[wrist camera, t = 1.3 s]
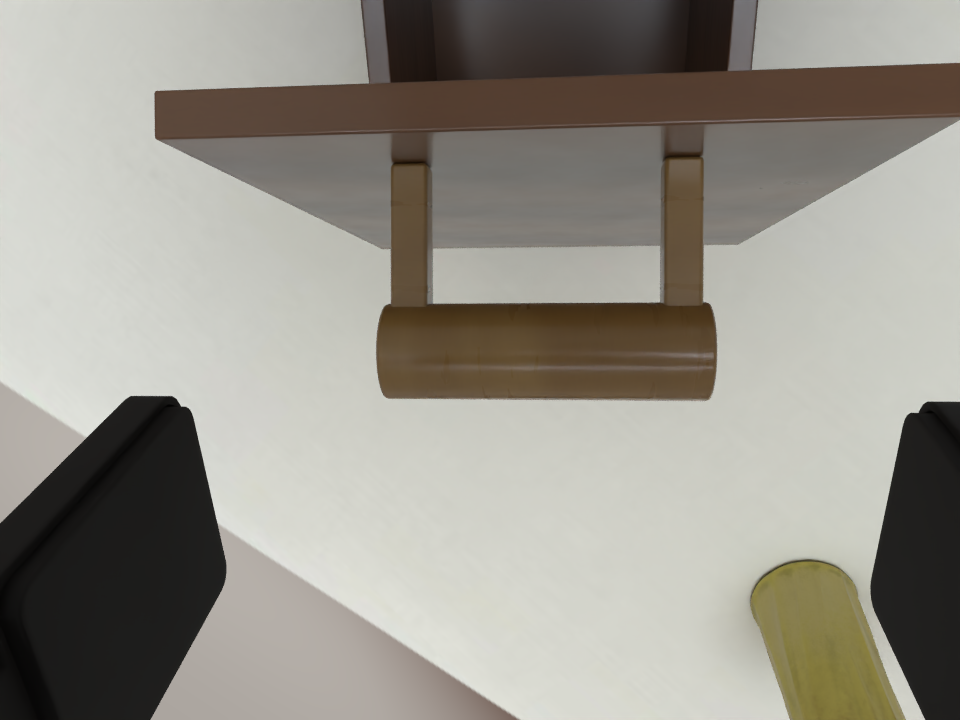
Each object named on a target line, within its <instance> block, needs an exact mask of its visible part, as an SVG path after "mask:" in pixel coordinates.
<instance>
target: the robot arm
mask: <svg viewBox="0 0 960 720" xmlns="http://www.w3.org/2000/svg"><path fill="white" fill-rule="evenodd" d="M225 578H226V560H225V555H224V551H223V546H222V542H221V538H220V533H219V529H218V524H217V520H216V516H215V511H214V507H213V502H212V498H211V494H210V489H209V485H208V480H207V476H206V471H205V467H204V463H203V458H202V454H201V449H200V445H199V441H198V436H197V432H196V427H195V423H194V419H193V416H192V413H191V411H190V410H189V408H187V407H181V406H180V404H179V402H178V401H177V399H176V398H174V397H172V396H130V397H129V398H127V399H126V400H124V401H123V402H122V403H121V404H120V405H119V406H118V407H117V408H116V409H115V410H114V411H113V412H112V413H111V414H110V415H109V416H108V417H107V418H106V419H105V420H104V421H103V422H102V423H101V424H100V425H99V426H98V427H97V428H96V429H95V430H94V431H93V432H92V433H91V434H90V435H89V436H88V437H87V438H86V439H85V440H84V441H83V442H82V443H81V444H80V445H79V446H78V447H77V448H76V449H75V450H74V451H73V452H72V453H71V454H70V455H69V456H68V457H67V458H66V459H65V460H64V461H63V462H62V463H61V464H60V465H59V466H58V467H57V468H56V469H55V470H54V471H53V472H52V473H51V474H50V475H49V476H48V477H47V478H46V479H45V480H44V481H43V482H42V483H41V484H40V485H39V486H38V487H37V488H36V489H35V490H34V491H33V492H32V493H31V494H30V495H29V496H28V497H27V498H26V499H25V500H24V501H23V502H22V503H21V504H20V505H18V507H16V509H14V510H13V511H12V513H10V514H9V515H8V516H7V517H6V518H5V519H4V520H3V521H2V522H1V523H0V720H150V719H151V718H152V716H153V714H154V712H155V710H156V709H157V707H158V705H159V703H160V701H161V699H162V698H163V696H164V694H165V692H166V690H167V688H168V687H169V685H170V683H171V681H172V679H173V678H174V676H175V674H176V672H177V670H178V669H179V667H180V665H181V663H182V661H183V660H184V658H185V656H186V654H187V652H188V650H189V648H190V647H191V645H192V643H193V641H194V640H195V638H196V636H197V634H198V632H199V631H200V629H201V627H202V625H203V623H204V621H205V620H206V618H207V616H208V614H209V612H210V611H211V609H212V607H213V605H214V603H215V601H216V600H217V598H218V596H219V594H220V592H221V591H222V588H223V586H224V583H225ZM871 600H872V605H873V608H874V611H875V613H876V615H877V618H878V620H879V622H880V624H881V626H882V628H883V630H884V633H885V635H886V637H887V639H888V641H889V643H890V645H891V648H892V650H893V652H894V654H895V656H896V658H897V660H898V662H899V665H900V667H901V669H902V671H903V673H904V675H905V677H906V680H907V682H908V684H909V686H910V688H911V690H912V692H913V695H914V697H915V699H916V701H917V703H918V705H919V707H920V709H921V712H922V714H923V716H924V718H925V720H960V402H926V403H925V404H923V406H922V407H921V409H920V411H919V413H910V414H908V415H907V417H906V418H905V421H904V424H903V428H902V433H901V438H900V443H899V448H898V453H897V457H896V462H895V467H894V472H893V477H892V482H891V486H890V491H889V496H888V501H887V506H886V511H885V515H884V520H883V525H882V530H881V535H880V540H879V544H878V549H877V554H876V559H875V564H874V568H873V573H872V578H871Z"/></svg>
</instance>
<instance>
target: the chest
mask: <svg viewBox="0 0 960 720" xmlns="http://www.w3.org/2000/svg"><path fill="white" fill-rule="evenodd" d="M361 8H362V18H363V27H364V37H365V47H366V57H367V67H368V77H369V84H370V83H398V82H427V81H455V80H484V79H513V78H541V77H570V76H598V75H627V74H656V73H684V72H713V71H741V70H752V60H753V50H754V39H755V29H756V18H757V8H758V0H361Z"/></svg>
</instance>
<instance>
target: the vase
mask: <svg viewBox="0 0 960 720" xmlns="http://www.w3.org/2000/svg"><path fill="white" fill-rule="evenodd" d="M751 610H752V614H753V617H754V619H755V621H756V623H757V625H758V626H759V628H760V631H761V633H762V636H763V639H764V643H765V646H766V649H767V652H768V655H769V658H770V661H771V664H772V667H773V670H774V673H775V676H776V679H777V682H778V684H779V687H780V690H781V693H782V695H783V699H784V702H785V706H786V709H787V712H788V715H789V718H790V720H906V719H905V717H904V715H903V712H902V709H901V707H900V705H899V703H898V700H897V698H896V696H895V694H894V692H893V689H892V687H891V685H890V683H889V680H888V677H887V675H886V672H885V669H884V667H883V664H882V661H881V659H880V656H879V653H878V650H877V647H876V645H875V642H874V639H873V636H872V633H871V631H870V628H869V625H868V622H867V620H866V617H865V614H864V612H863V609H862V607H861V604H860V602H859V599H858V594H857V590H856V587H855V585H854V583H853V582H852V581H851V579H850V578H849V577H848V576H847V575H846V574H845V573H844V572H843V571H841V570H840V569H838V568H836V567H834V566H831V565H828V564H825V563H821V562H812V561H804V562H795V563H790V564H787V565H784V566H782V567H780V568H778V569H776V570H774V571H772V572H771V573H769V574H768V575H767V576H765V577H764V578H763V579H762V580H761V581H760V582H759V583H758V585H757V586H756V588H755V590H754V592H753V594H752V598H751Z"/></svg>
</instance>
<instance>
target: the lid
mask: <svg viewBox="0 0 960 720" xmlns="http://www.w3.org/2000/svg"><path fill="white" fill-rule="evenodd" d="M959 120H960V63H941V64H913V65H884V66H856V67H827V68H798V69H770V70H741V71H713V72H684V73H656V74H627V75H598V76H570V77H541V78H513V79H484V80H455V81H427V82H398V83H370V84H341V85H312V86H284V87H255V88H227V89H198V90H170V91H156V92H155V138H156V139H157V140H159V141H161V142H163V143H165V144H167V145H169V146H171V147H173V148H175V149H177V150H180V151H182V152H184V153H186V154H188V155H190V156H192V157H194V158H196V159H198V160H200V161H202V162H204V163H206V164H208V165H210V166H212V167H215V168H217V169H219V170H221V171H223V172H225V173H227V174H229V175H231V176H233V177H235V178H237V179H239V180H241V181H243V182H245V183H247V184H250V185H252V186H254V187H256V188H258V189H260V190H262V191H264V192H266V193H268V194H270V195H272V196H274V197H276V198H278V199H280V200H283V201H285V202H287V203H289V204H291V205H293V206H295V207H297V208H299V209H301V210H303V211H305V212H307V213H309V214H311V215H313V216H315V217H318V218H320V219H322V220H324V221H326V222H328V223H330V224H332V225H334V226H336V227H338V228H340V229H342V230H344V231H346V232H348V233H350V234H353V235H355V236H357V237H359V238H361V239H363V240H365V241H367V242H369V243H371V244H373V245H375V246H377V247H379V248H381V249H391V304H388V305H386V306H384V308H383V310H382V312H381V315H380V319H379V323H378V330H377V341H376V361H377V373H378V379H379V384H380V388H381V391H382V393H383V395H384V396H385V397H386V398H389V399H511V400H648V401H707V400H709V399H710V398H711V395H712V393H713V390H714V385H715V379H716V368H717V333H716V323H715V317H714V313H713V310H712V307H711V305H710V304H709V303H706V302H703V248H704V245H738V244H740V243H742V242H743V241H745V240H747V239H749V238H751V237H752V236H754V235H756V234H758V233H760V232H761V231H763V230H765V229H767V228H768V227H770V226H772V225H774V224H776V223H777V222H779V221H781V220H783V219H784V218H786V217H788V216H790V215H792V214H793V213H795V212H797V211H799V210H800V209H802V208H804V207H806V206H808V205H809V204H811V203H813V202H815V201H816V200H818V199H820V198H822V197H824V196H825V195H827V194H829V193H831V192H833V191H834V190H836V189H838V188H840V187H841V186H843V185H845V184H847V183H849V182H850V181H852V180H854V179H856V178H857V177H859V176H861V175H863V174H865V173H866V172H868V171H870V170H872V169H873V168H875V167H877V166H879V165H881V164H882V163H884V162H886V161H888V160H889V159H891V158H893V157H895V156H897V155H898V154H900V153H902V152H904V151H905V150H907V149H909V148H911V147H913V146H914V145H916V144H918V143H920V142H922V141H923V140H925V139H927V138H929V137H930V136H932V135H934V134H936V133H938V132H939V131H941V130H943V129H945V128H946V127H948V126H950V125H952V124H954V123H955V122H957V121H959ZM582 246H660V303H496V304H433V248H503V247H582Z"/></svg>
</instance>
